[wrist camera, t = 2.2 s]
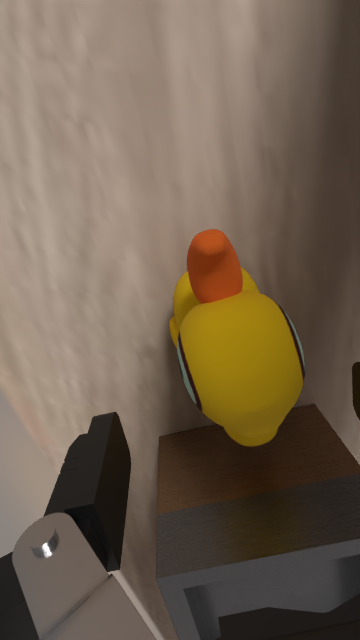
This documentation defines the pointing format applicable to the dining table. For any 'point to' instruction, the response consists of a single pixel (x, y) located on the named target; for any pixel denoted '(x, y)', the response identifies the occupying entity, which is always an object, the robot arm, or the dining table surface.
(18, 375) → the dining table surface
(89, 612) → the robot arm
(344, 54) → the dining table surface
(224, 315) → the duckling
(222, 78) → the dining table surface
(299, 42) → the dining table surface
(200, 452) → the gray rectangular tray
